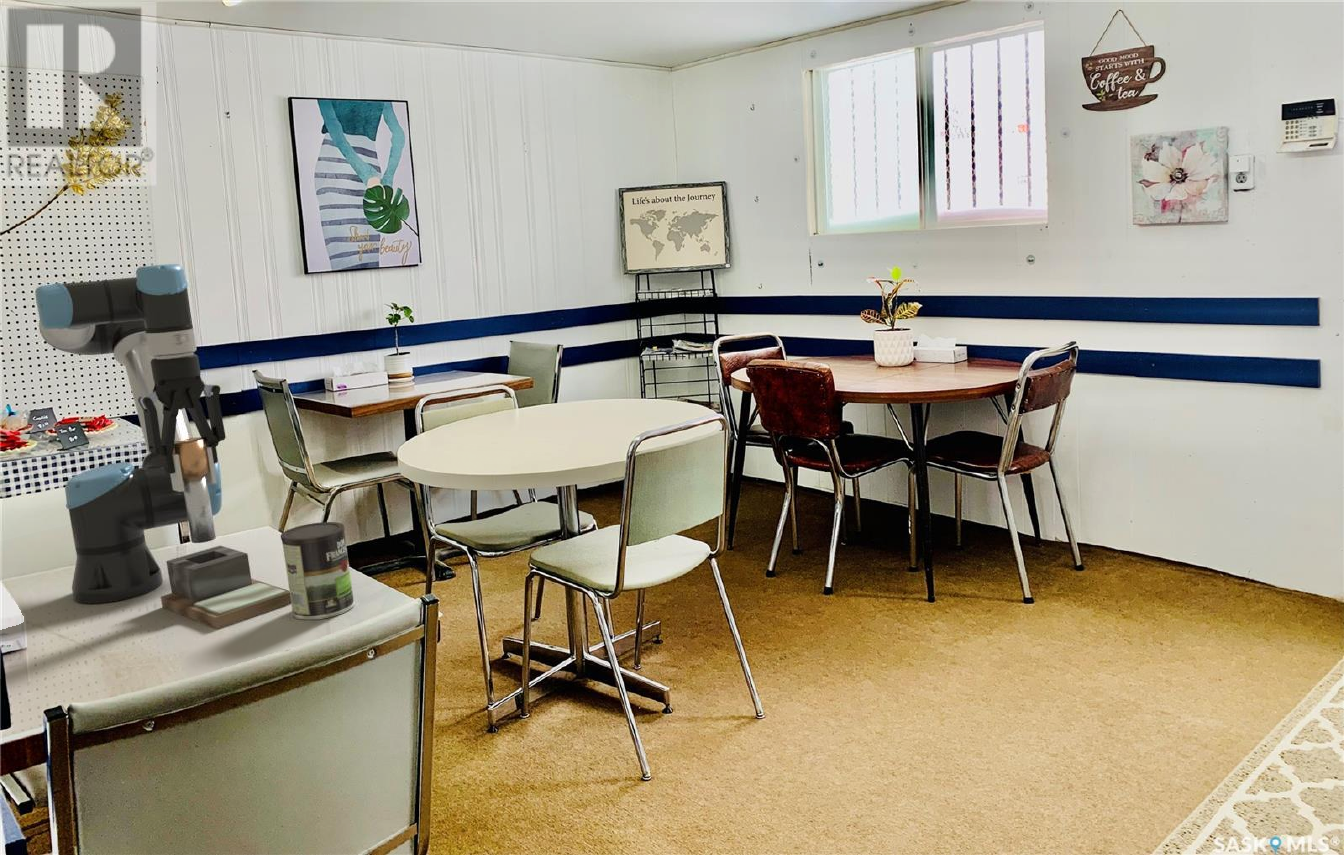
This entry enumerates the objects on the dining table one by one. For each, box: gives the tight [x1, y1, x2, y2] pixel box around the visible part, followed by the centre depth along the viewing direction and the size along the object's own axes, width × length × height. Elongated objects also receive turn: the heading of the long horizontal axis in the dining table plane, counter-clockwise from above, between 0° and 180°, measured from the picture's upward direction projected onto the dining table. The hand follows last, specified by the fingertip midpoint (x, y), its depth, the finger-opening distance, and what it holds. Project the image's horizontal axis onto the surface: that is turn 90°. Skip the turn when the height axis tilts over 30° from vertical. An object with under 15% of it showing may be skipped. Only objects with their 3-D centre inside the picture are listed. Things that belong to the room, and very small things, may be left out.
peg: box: [173, 436, 217, 544], centre depth 190 cm, size 5×5×18 cm
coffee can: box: [280, 521, 355, 621], centre depth 183 cm, size 10×10×14 cm
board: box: [160, 545, 292, 630], centre depth 189 cm, size 20×14×8 cm
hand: (195, 486), depth 189 cm, fingers closed on peg, 5 cm apart
